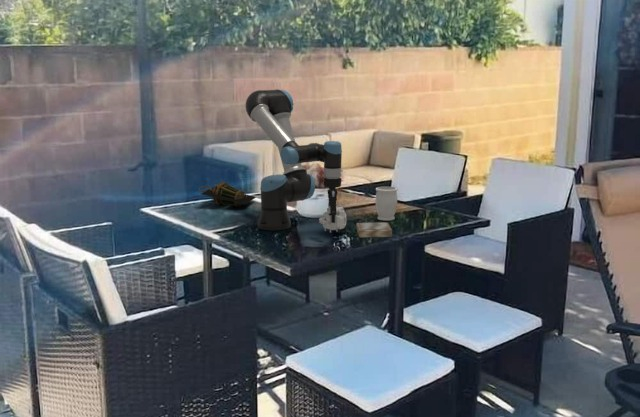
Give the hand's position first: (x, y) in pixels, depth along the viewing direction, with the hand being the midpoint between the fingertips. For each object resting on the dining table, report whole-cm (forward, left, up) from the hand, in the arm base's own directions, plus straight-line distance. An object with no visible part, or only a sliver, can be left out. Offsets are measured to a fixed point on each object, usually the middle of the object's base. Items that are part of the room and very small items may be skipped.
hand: (332, 226), depth 295 cm
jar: (+27, +26, -3) cm, 38 cm away
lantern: (-54, +63, -3) cm, 83 cm away
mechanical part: (0, 0, -2) cm, 2 cm away
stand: (+18, -1, -3) cm, 19 cm away
